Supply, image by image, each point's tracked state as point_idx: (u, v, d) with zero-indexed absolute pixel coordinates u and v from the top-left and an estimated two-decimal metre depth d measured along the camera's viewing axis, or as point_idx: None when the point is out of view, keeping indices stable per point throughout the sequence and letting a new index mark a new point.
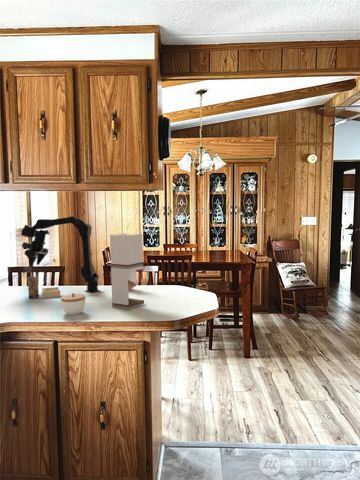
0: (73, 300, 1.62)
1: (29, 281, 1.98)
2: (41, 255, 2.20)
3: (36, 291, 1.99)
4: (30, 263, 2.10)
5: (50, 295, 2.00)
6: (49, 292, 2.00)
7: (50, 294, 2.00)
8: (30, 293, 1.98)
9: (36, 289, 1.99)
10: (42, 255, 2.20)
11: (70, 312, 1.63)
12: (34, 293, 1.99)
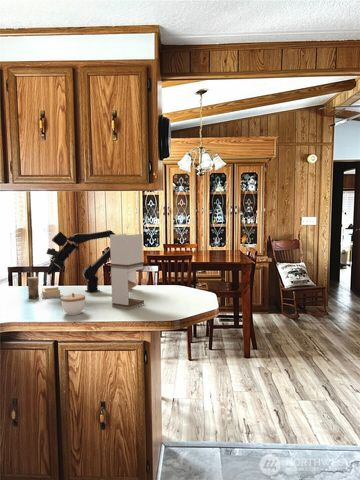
0: (73, 300, 1.62)
1: (29, 281, 1.98)
2: None
3: (36, 291, 1.99)
4: (50, 271, 1.99)
5: (50, 295, 2.00)
6: (49, 292, 2.00)
7: (50, 294, 2.00)
8: (30, 293, 1.98)
9: (36, 289, 1.99)
10: None
11: (70, 312, 1.63)
12: (34, 293, 1.99)
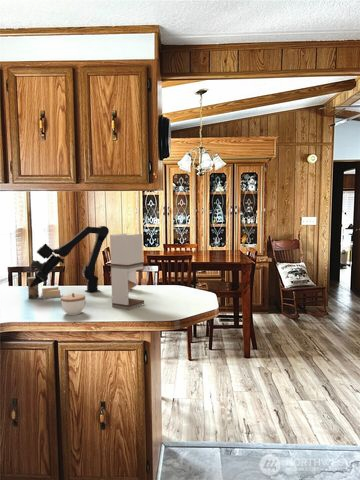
0: (73, 300, 1.62)
1: (29, 281, 1.98)
2: None
3: (36, 291, 1.99)
4: (33, 283, 1.98)
5: (50, 295, 2.00)
6: (49, 292, 2.00)
7: (50, 294, 2.00)
8: (30, 293, 1.98)
9: (36, 289, 1.99)
10: None
11: (70, 312, 1.63)
12: (34, 293, 1.99)
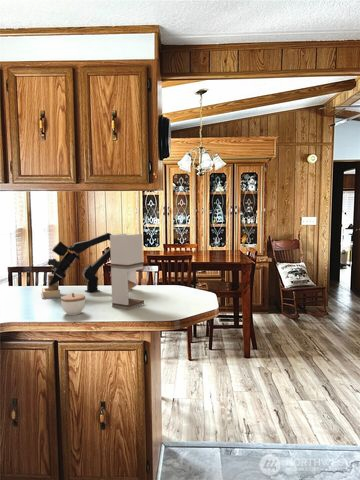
0: (73, 300, 1.62)
1: (50, 278, 2.02)
2: None
3: (56, 288, 2.04)
4: (52, 282, 2.00)
5: (50, 295, 2.00)
6: (49, 292, 2.00)
7: (50, 294, 2.00)
8: (50, 290, 2.02)
9: (56, 286, 2.04)
10: None
11: (70, 312, 1.63)
12: None
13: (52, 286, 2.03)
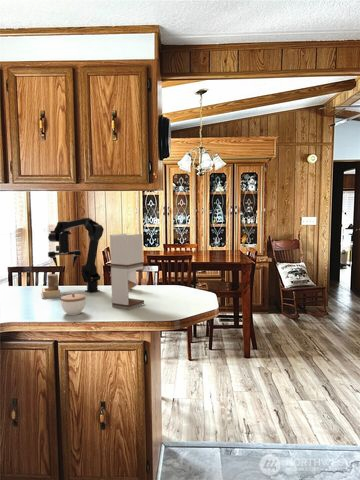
0: (73, 300, 1.62)
1: (49, 278, 2.02)
2: (73, 257, 2.24)
3: (56, 288, 2.04)
4: (55, 264, 2.21)
5: (50, 295, 2.00)
6: (49, 292, 2.00)
7: (50, 294, 2.00)
8: (50, 290, 2.02)
9: (56, 286, 2.04)
10: (73, 257, 2.23)
11: (70, 312, 1.63)
12: None
13: (52, 286, 2.03)
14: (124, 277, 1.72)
